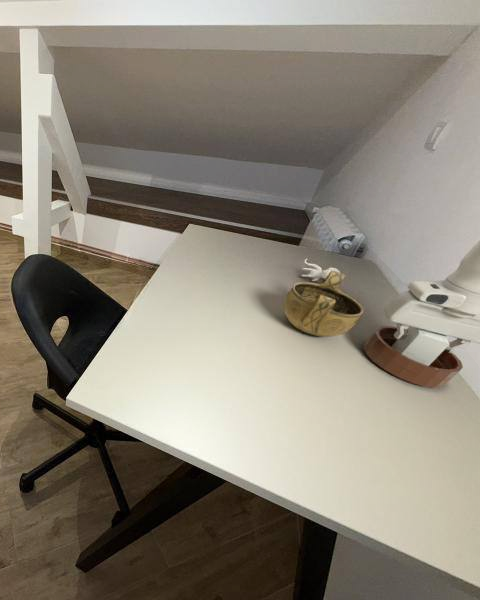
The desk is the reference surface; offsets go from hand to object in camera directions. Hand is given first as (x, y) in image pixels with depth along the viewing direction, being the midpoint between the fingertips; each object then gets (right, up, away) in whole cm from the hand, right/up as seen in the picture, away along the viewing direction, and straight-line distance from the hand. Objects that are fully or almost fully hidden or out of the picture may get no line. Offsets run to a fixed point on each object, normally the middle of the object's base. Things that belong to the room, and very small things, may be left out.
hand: (420, 344), depth 77 cm
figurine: (+6, +19, +42) cm, 46 cm away
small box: (-1, -5, +4) cm, 7 cm away
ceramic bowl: (-18, +3, +14) cm, 23 cm away
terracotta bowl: (-1, -6, +4) cm, 7 cm away
